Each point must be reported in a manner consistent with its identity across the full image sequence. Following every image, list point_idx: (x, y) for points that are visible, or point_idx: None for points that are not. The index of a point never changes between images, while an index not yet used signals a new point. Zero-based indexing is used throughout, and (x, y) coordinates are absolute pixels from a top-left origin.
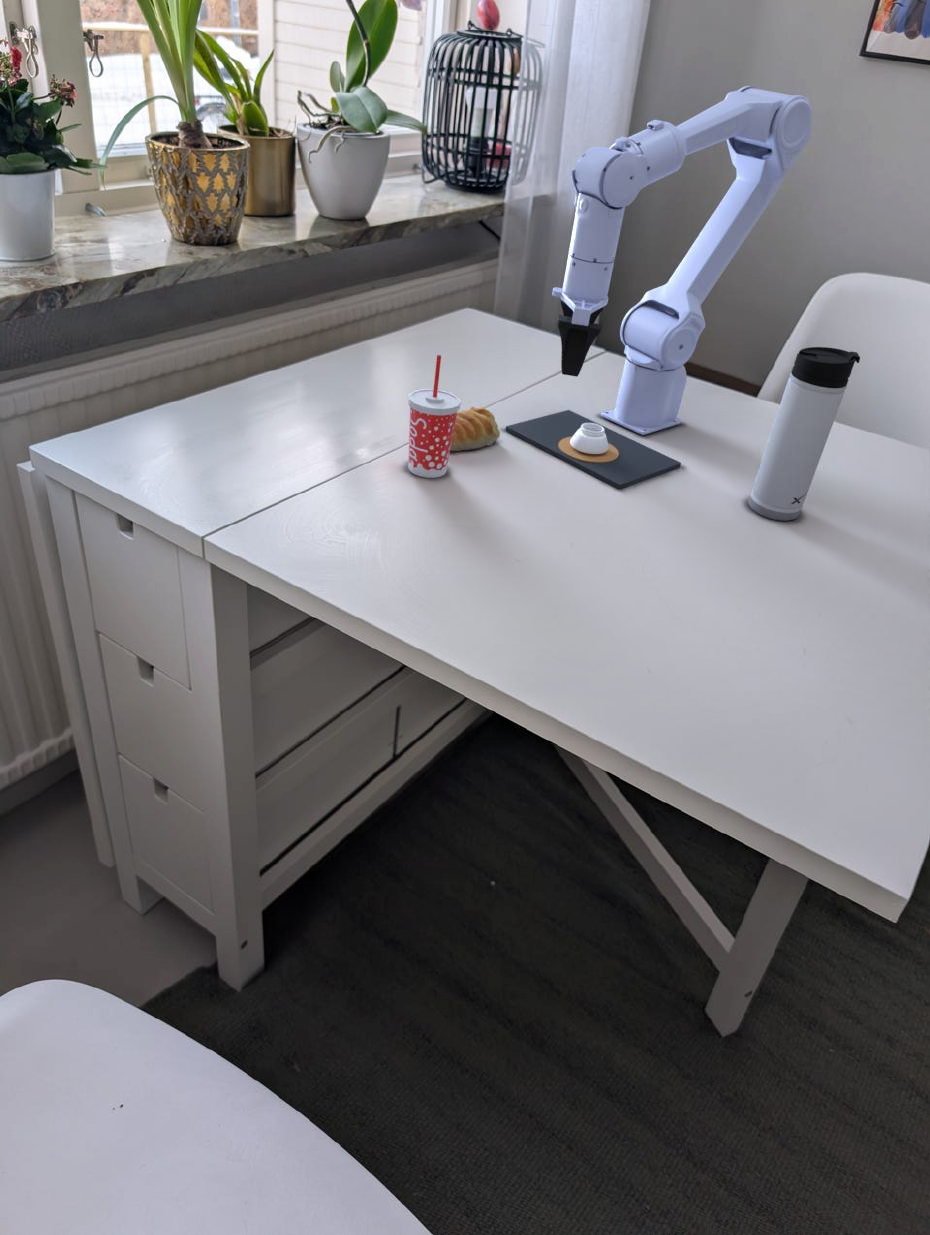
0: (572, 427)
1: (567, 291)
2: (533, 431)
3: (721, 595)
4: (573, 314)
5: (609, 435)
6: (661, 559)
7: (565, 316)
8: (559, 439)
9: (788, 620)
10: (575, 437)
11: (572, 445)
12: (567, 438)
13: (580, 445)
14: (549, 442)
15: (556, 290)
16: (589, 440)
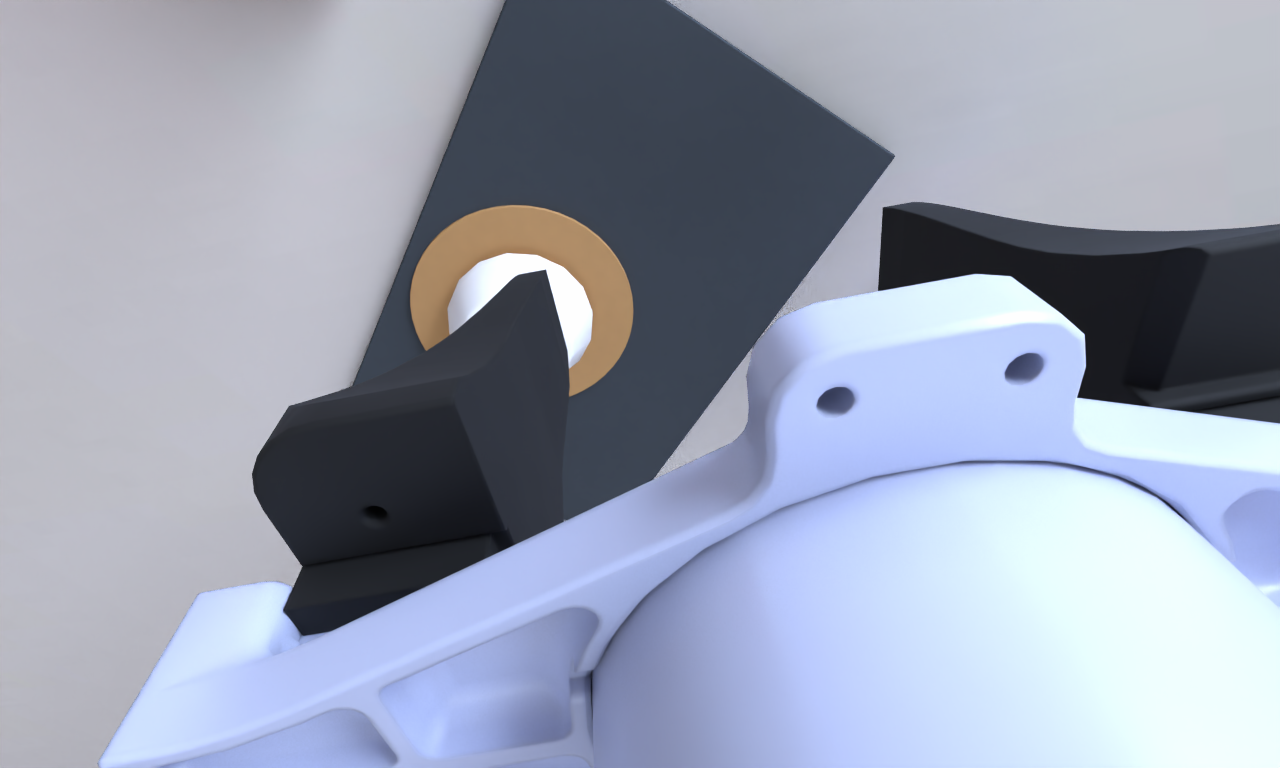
0: (705, 215)
1: (680, 626)
2: (562, 72)
3: (20, 661)
4: (148, 680)
5: (701, 345)
6: (42, 568)
7: (465, 472)
8: (550, 197)
9: (55, 732)
10: (478, 288)
11: (467, 272)
12: (566, 227)
13: (451, 309)
14: (494, 168)
15: (851, 406)
16: None
